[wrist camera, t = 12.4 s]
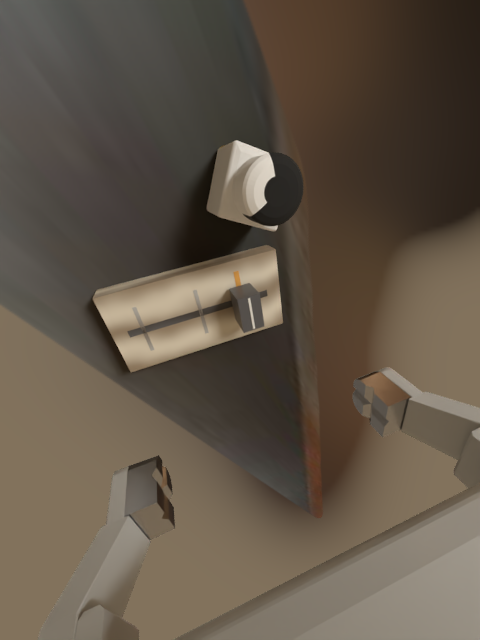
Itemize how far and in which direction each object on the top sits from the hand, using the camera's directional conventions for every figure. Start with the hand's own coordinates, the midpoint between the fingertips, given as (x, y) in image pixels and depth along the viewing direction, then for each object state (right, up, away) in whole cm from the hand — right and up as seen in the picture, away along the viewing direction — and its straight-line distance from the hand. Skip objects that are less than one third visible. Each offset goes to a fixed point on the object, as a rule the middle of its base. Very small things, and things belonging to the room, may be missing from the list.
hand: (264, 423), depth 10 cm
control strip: (-7, +6, +29) cm, 30 cm away
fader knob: (-1, +7, +27) cm, 28 cm away
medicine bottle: (-1, +21, +23) cm, 31 cm away
